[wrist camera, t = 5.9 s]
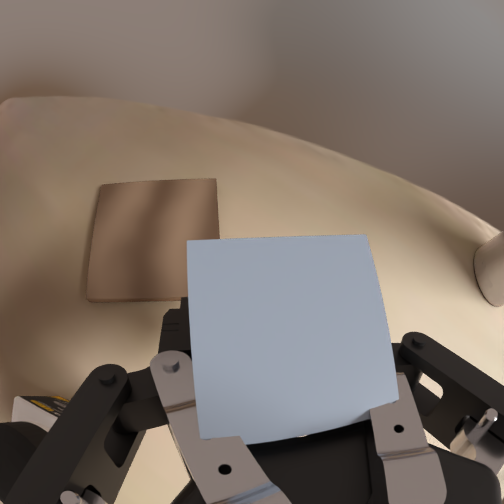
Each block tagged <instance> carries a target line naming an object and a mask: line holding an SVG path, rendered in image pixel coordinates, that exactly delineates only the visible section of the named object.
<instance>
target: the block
mask: <svg viewBox="0 0 504 504" xmlns="http://www.w3.org/2000/svg"><path fill="white" fill-rule="evenodd" d="M187 276H188V302H189V322H190V338H191V353H192V365H193V377H194V388H195V398H196V407H197V416H198V425H199V433H200V439H203V440H210V439H211V438H219V437H231V436H240V437H241V438H242V440H243V442H244V443H245V445H247V444H255V443H263V442H270V441H276V440H282V439H288V438H294V437H299V436H304V435H309V434H314V433H318V432H322V431H327V430H331V429H335V428H339V427H342V426H346V425H350V424H353V423H357V422H360V421H364V420H367V419H369V409H371V408H375V407H378V406H381V405H384V404H387V403H395V402H396V400H398V399H399V394H398V385H397V378H396V370H395V363H394V357H393V351H392V345H391V339H390V333H389V328H388V323H387V318H386V313H385V308H384V303H383V299H382V294H381V290H380V285H379V281H378V277H377V273H376V269H375V265H374V261H373V257H372V254H371V250H370V246H369V243H368V239H367V236H366V235H327V236H293V237H263V238H236V239H211V240H188V241H187Z"/></svg>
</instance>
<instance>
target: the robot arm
mask: <svg viewBox="0 0 504 504" xmlns="http://www.w3.org/2000/svg"><path fill="white" fill-rule="evenodd" d="M474 268H475V274H476V278H477V281H478V284H479V287H480V289H481V291H482V293H483V295H484V296H485V298H486V299H487V300H488V301H489V302H490V303H491V304H492V305H494V306H498V307H499V306H502V305H504V231H502V232H501V233H500V234H498V235H497V236H495V237H494V238H493V239H491V240H490V241H488V242H487V243H486V244H484V245H483V246H481V247H480V248H479V249H478V250H477V251H476V254H475V258H474ZM391 345H392V351H393V357H394V363H395V370H396V378H397V385H398V394H399V399H398V400H396V402H395V403H387V404H384V405H381V406H378V407H375V408H371V409H369V419H367V420H364V421H360V422H357V423H353V424H350V425H346V426H342V427H339V428H335V429H331V430H327V431H322V432H318V433H314V434H309V435H307V436H304V437H294V438H288V439H282V440H276V441H270V442H263V443H255V444H247V445H245V443H244V442H243V440H242V438H241V437H240V436H231V437H219V438H211V439H210V440H203V439H200V433H199V425H198V416H197V407H196V398H195V388H194V377H193V365H192V353H191V338H190V322H189V302H188V297H181V305H180V309H169V310H168V312H167V313H166V314H165V315H164V317H163V323H162V329H161V336H160V343H159V350H158V354H157V355H156V356H155V357H154V358H153V359H152V360H151V362H150V366H149V367H147V368H146V369H143V370H140V371H136V372H132V373H127V372H126V370H125V369H124V368H123V367H121V366H119V365H115V364H106V365H102V366H99V367H97V368H96V369H94V370H93V371H92V372H91V373H90V374H89V376H88V377H87V378H86V380H85V381H84V382H83V384H82V385H81V387H80V388H79V389H78V391H77V392H76V393H75V395H74V396H73V397H72V399H71V400H70V402H69V403H68V404H67V406H66V407H65V409H64V410H63V411H62V413H61V414H60V416H59V417H58V418H57V420H56V421H55V423H54V424H53V426H52V427H51V428H50V430H49V431H48V433H47V434H46V436H45V437H44V439H43V440H42V442H41V443H40V445H39V446H38V448H37V449H36V451H35V452H34V454H33V455H32V457H31V458H30V460H29V461H28V463H27V465H26V466H25V468H24V469H23V471H22V472H21V474H20V476H19V477H18V479H17V480H16V482H15V484H14V485H13V487H12V489H11V490H10V492H9V494H8V495H7V497H6V499H5V502H4V504H114V502H115V500H116V497H117V495H118V493H119V490H120V488H121V486H122V484H123V481H124V479H125V477H126V475H127V472H128V470H129V468H130V466H131V464H132V461H133V459H134V457H135V455H136V452H137V450H138V448H139V446H140V444H141V441H142V439H143V437H144V435H145V433H146V430H147V429H151V428H155V427H159V426H162V425H166V424H167V425H168V427H169V430H170V433H171V435H172V438H173V440H174V443H175V445H176V447H177V450H178V452H179V455H180V457H181V459H182V462H183V464H184V467H185V469H186V471H187V473H188V476H189V478H190V481H189V483H188V484H187V485H186V486H185V487H184V489H183V490H182V491H181V492H180V493H179V494H178V496H177V497H176V498H175V499H174V500H173V501H172V502H171V504H502V499H501V488H500V483H499V480H498V478H497V476H496V475H497V474H498V472H499V470H500V469H501V467H502V466H503V464H504V386H503V385H502V384H500V383H499V382H497V381H496V380H494V379H493V378H491V377H490V376H488V375H487V374H485V373H484V372H482V371H481V370H479V369H478V368H476V367H475V366H473V365H472V364H470V363H469V362H467V361H466V360H464V359H462V358H461V357H459V356H458V355H456V354H455V353H453V352H452V351H450V350H449V349H447V348H446V347H444V346H443V345H441V344H439V343H438V342H436V341H435V340H433V339H432V338H430V337H429V336H427V335H425V334H423V333H419V332H409V333H406V334H405V335H404V336H403V338H402V341H401V343H391ZM423 373H424V374H426V375H427V376H428V377H430V378H431V379H432V380H434V381H435V382H437V383H438V384H439V385H440V386H441V387H442V389H443V396H442V398H441V399H440V398H439V397H437V396H436V395H435V394H434V393H432V392H431V391H430V390H428V389H427V388H426V387H424V386H423V385H422V384H420V383H419V380H420V378H421V376H422V374H423ZM423 428H424V429H425V430H426V431H428V432H429V433H430V434H431V435H432V436H434V437H435V438H436V439H437V440H438V441H440V442H441V443H442V444H443V445H445V446H446V447H447V448H448V449H449V450H451V452H449V451H447V450H444V449H442V448H439V447H436V446H434V445H431V444H429V443H427V439H426V436H425V433H424V429H423Z"/></svg>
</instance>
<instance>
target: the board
mask: <svg viewBox="0 0 504 504" xmlns="http://www.w3.org/2000/svg"><path fill="white" fill-rule="evenodd" d="M211 239H220V235H219V220H218V202H217V184H216V179H182V180H160V181H142V182H128V183H115V184H104V185H102V186H101V191H100V196H99V201H98V206H97V212H96V217H95V223H94V230H93V236H92V243H91V251H90V259H89V268H88V279H87V291H86V299H87V300H88V301H89V302H140V301H176V300H181V297H188V276H187V241H188V240H211Z"/></svg>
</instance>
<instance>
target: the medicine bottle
mask: <svg viewBox="0 0 504 504" xmlns="http://www.w3.org/2000/svg"><path fill="white" fill-rule="evenodd" d="M69 402H70V401H68V400H66V399H64V398H61V397H59V396H16V397H15V398H14V403H13V411H12V420H11V422H6V423H0V500H1V501H2V502H3V503H4V502H5V499H6V497H7V495H8V494H9V492H10V490H11V489H12V487H13V485H14V484H15V482H16V480H17V479H18V477H19V476H20V474H21V472H22V471H23V469H24V468H25V466H26V465H27V463H28V461H29V460H30V458H31V457H32V455H33V454H34V452H35V451H36V449H37V448H38V446H39V445H40V443H41V442H42V440H43V439H44V437H45V436H46V434H47V433H48V431H49V430H50V428H51V427H52V426H53V424H54V423H55V421H56V420H57V418H58V417H59V416H60V414H61V413H62V411H63V410H64V409H65V407H66V406H67V404H68V403H69ZM119 492H120V490H119Z"/></svg>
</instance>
